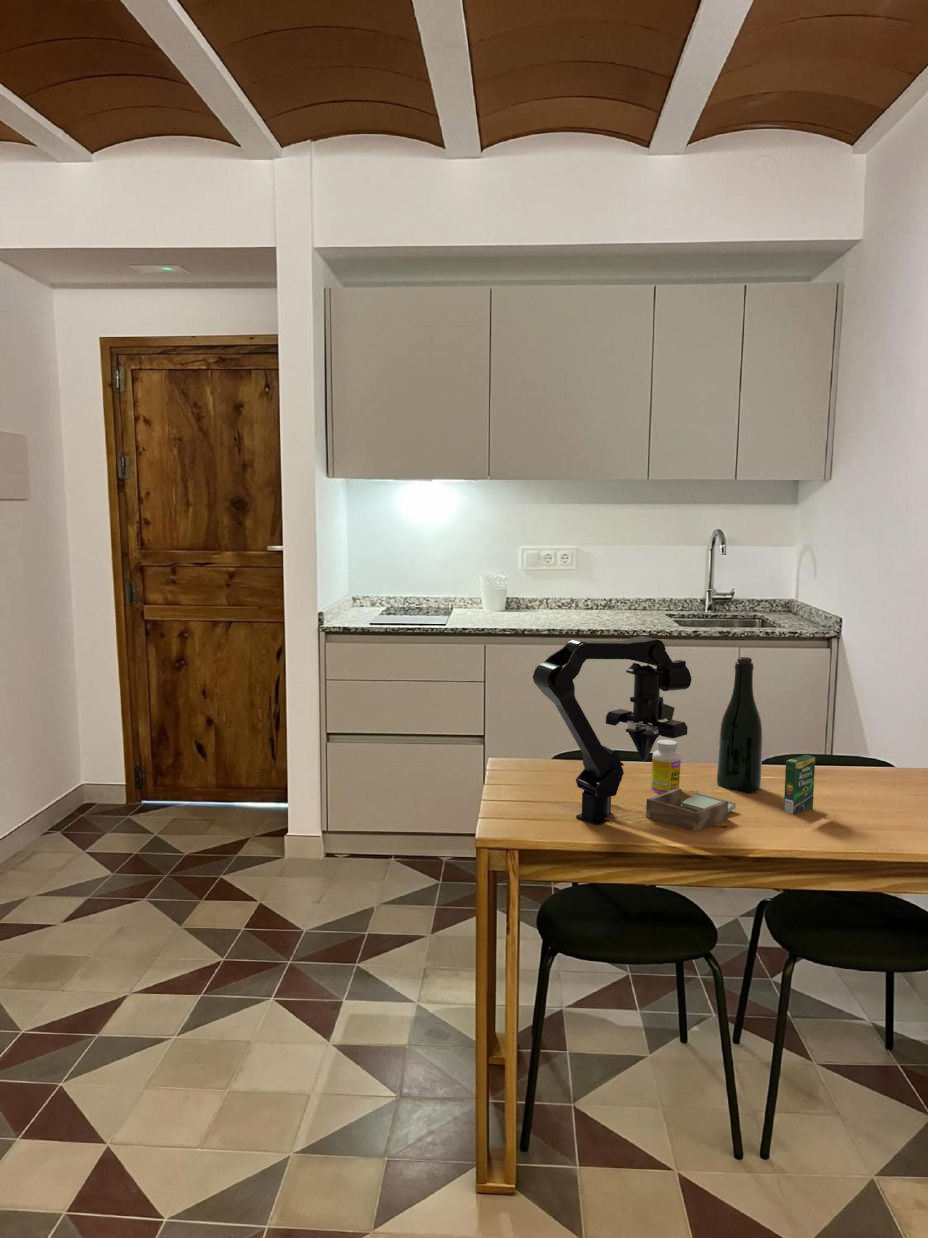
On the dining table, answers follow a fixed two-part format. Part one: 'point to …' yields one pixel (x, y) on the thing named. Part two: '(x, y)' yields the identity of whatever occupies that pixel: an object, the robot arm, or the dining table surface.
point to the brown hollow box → (684, 812)
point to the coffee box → (799, 784)
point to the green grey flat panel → (704, 802)
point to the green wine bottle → (741, 735)
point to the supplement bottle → (665, 767)
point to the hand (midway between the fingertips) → (644, 760)
